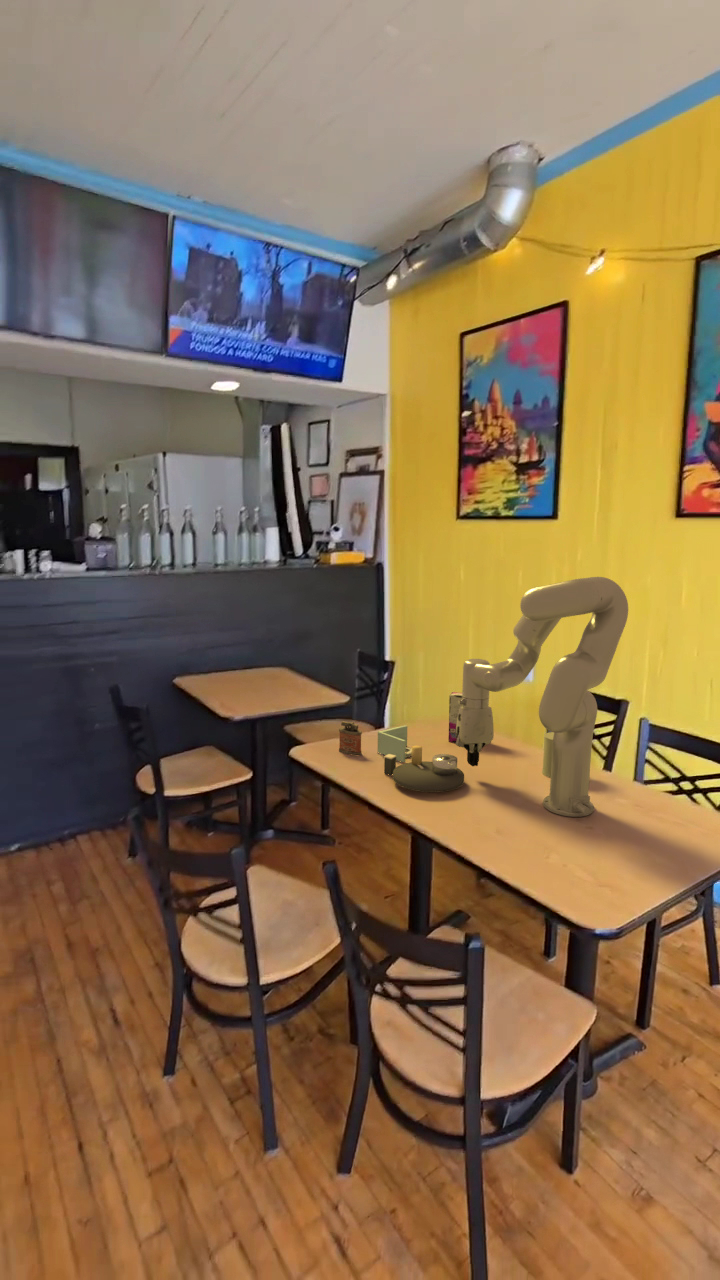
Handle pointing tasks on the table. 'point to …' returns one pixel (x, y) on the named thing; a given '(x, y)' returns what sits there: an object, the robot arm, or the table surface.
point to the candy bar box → (453, 714)
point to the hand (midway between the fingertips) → (472, 764)
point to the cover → (444, 765)
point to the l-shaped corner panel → (394, 743)
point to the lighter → (350, 739)
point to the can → (547, 754)
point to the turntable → (424, 775)
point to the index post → (389, 764)
